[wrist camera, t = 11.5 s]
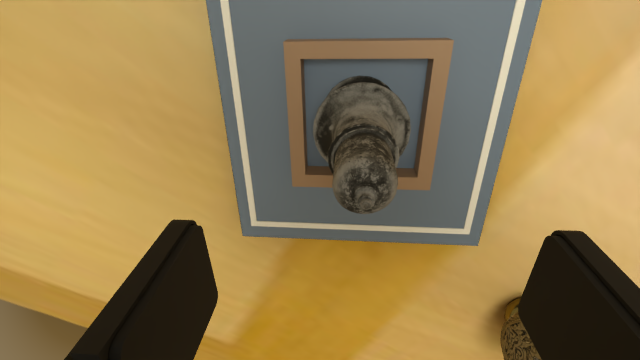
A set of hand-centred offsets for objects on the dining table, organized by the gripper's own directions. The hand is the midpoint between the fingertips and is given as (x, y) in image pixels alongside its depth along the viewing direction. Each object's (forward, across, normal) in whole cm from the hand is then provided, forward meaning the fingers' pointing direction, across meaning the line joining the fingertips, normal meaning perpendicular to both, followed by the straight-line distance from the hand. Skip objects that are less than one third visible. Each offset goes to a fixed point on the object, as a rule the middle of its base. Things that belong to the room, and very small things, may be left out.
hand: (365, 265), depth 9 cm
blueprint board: (+17, -1, +1) cm, 17 cm away
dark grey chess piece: (+16, 0, +1) cm, 16 cm away
